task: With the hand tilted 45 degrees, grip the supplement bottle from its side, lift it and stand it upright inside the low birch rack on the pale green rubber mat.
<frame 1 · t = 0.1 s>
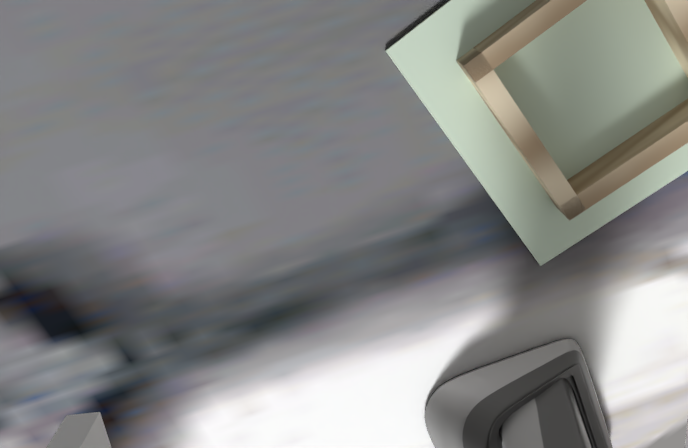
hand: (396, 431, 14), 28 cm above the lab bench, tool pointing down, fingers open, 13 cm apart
mat: (588, 77, 39), on the lab bench
thermal camera: (518, 414, 48), on the lab bench
rack: (598, 81, 37), on the mat
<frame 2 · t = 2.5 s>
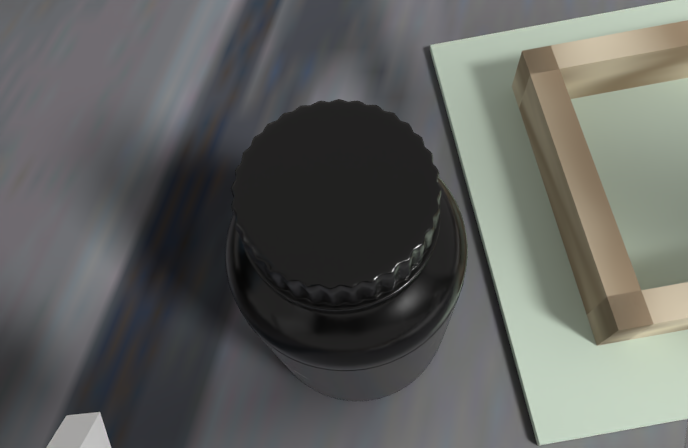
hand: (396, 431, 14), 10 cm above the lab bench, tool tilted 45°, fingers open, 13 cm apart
supplement bottle: (359, 318, 25), on the lab bench
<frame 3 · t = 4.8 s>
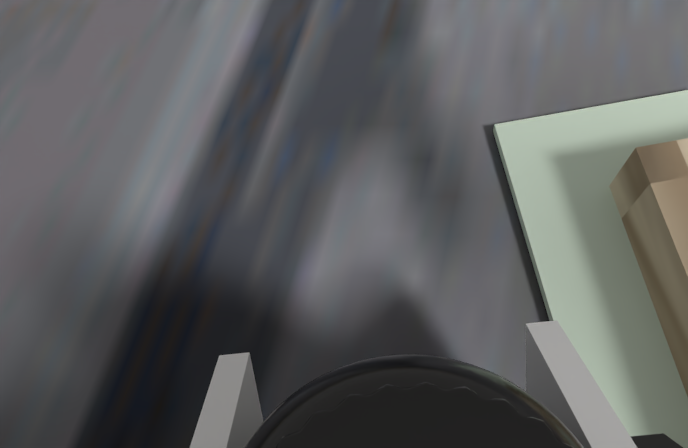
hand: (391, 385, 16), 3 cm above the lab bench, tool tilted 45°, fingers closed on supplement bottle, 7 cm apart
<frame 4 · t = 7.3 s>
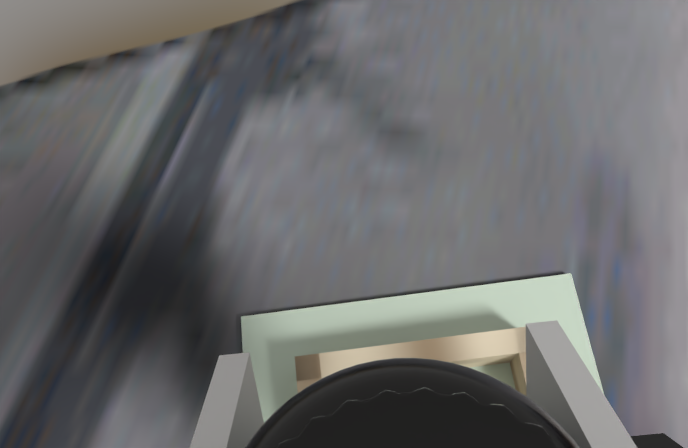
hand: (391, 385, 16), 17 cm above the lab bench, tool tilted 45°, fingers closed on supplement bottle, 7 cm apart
when the fingers open (5 cm above the lab bench, at t = 10.0 s): supplement bottle drops 2 cm, resting on mat.
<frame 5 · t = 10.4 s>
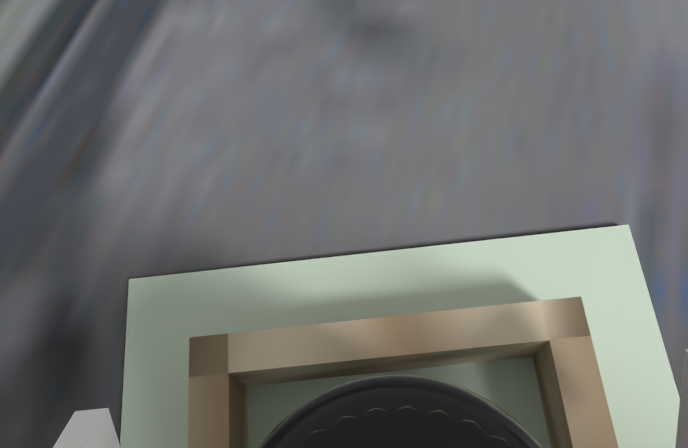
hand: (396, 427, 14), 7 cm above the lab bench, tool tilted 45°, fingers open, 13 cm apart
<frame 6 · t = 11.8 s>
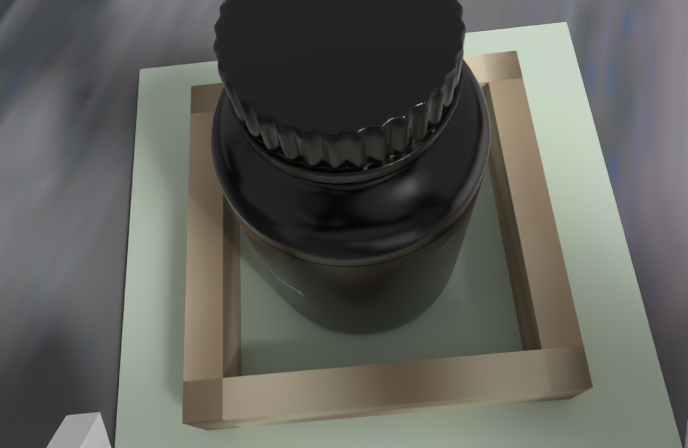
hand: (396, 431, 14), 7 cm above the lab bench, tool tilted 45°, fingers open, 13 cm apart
supplement bottle: (363, 249, 23), resting on mat
mat: (369, 248, 23), on the lab bench
rack: (368, 232, 22), on the mat
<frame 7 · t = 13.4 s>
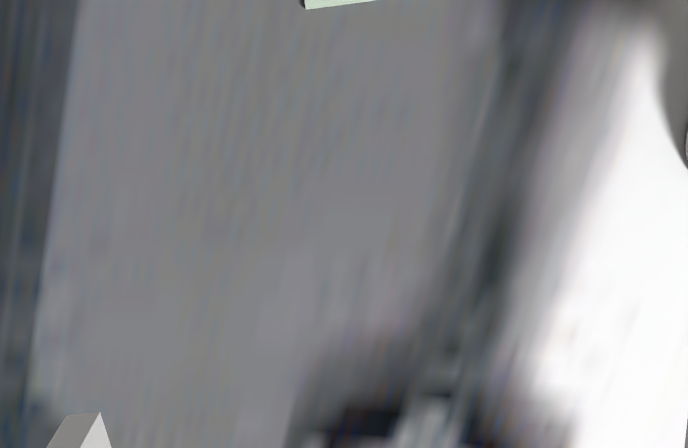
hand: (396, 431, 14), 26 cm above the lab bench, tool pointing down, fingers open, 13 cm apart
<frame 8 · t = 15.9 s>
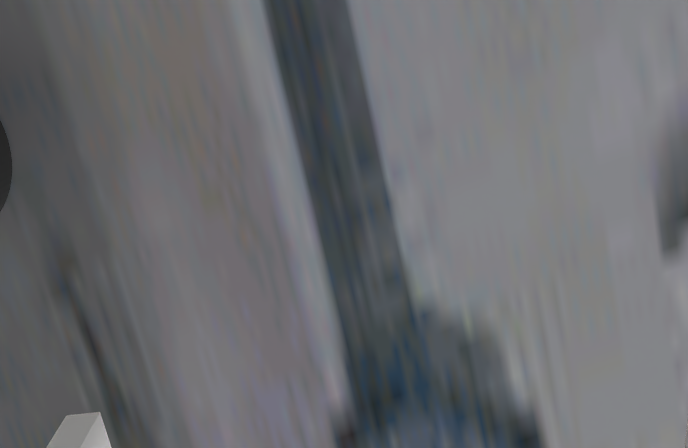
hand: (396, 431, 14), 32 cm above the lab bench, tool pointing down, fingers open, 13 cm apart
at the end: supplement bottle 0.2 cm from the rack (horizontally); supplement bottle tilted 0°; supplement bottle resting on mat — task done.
